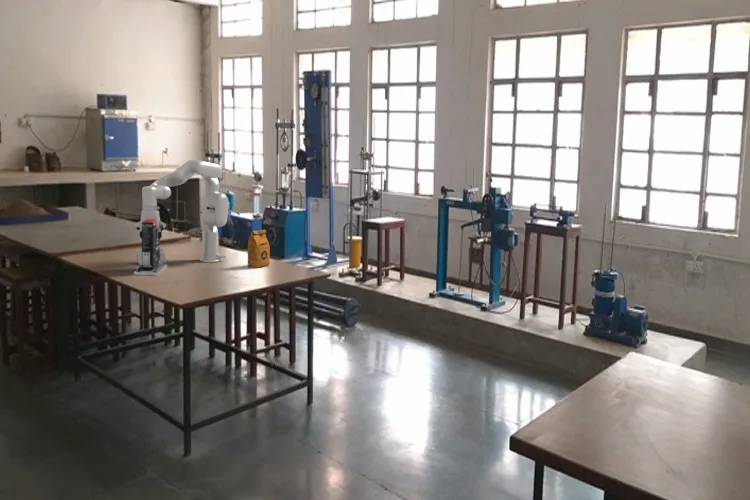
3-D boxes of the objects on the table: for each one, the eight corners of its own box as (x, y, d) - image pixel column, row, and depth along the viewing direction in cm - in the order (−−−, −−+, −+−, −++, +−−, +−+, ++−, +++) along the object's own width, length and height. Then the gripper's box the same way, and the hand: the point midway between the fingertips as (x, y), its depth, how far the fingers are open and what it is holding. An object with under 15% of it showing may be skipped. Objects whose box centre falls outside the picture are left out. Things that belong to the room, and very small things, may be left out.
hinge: (139, 265, 401) (136, 248, 402) (136, 266, 404) (134, 249, 405) (167, 262, 410) (165, 246, 411) (164, 263, 414) (162, 247, 415)
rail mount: (167, 267, 398) (166, 261, 397) (158, 275, 376) (158, 269, 376) (144, 266, 397) (144, 260, 396) (134, 274, 375) (133, 268, 375)
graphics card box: (149, 263, 395) (148, 217, 390) (161, 264, 395) (160, 217, 391) (141, 270, 378) (140, 221, 373) (154, 270, 379) (153, 221, 374)
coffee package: (272, 266, 411) (272, 230, 407) (255, 269, 402) (256, 232, 398) (261, 263, 418) (262, 228, 414) (245, 266, 408) (245, 230, 405)
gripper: (167, 207, 384) (168, 237, 388) (135, 207, 383) (136, 237, 386) (164, 209, 377) (165, 240, 380) (132, 209, 376) (133, 239, 379)
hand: (150, 238), depth 383 cm, fingers open, 9 cm apart
